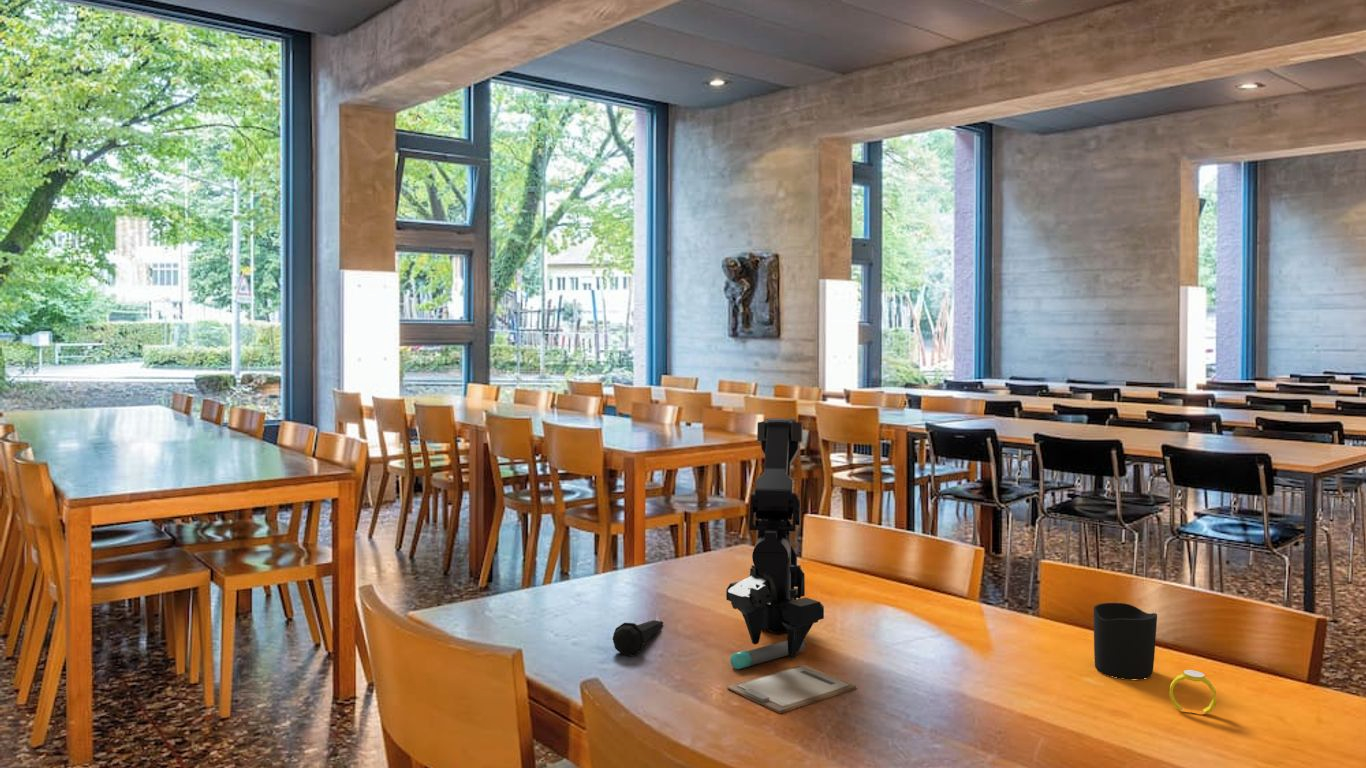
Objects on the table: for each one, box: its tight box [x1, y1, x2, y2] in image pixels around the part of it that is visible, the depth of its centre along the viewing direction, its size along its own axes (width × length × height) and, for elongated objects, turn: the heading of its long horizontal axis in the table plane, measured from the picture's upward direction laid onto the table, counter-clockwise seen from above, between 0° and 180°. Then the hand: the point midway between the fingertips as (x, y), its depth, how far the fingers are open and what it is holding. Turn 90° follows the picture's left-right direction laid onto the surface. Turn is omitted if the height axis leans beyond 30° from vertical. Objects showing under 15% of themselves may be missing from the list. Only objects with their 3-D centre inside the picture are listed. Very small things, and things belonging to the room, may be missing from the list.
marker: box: [729, 639, 808, 670], centre depth 168 cm, size 16×3×3 cm, turn 127°
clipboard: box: [726, 664, 857, 714], centre depth 155 cm, size 16×12×1 cm
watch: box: [1169, 669, 1217, 714], centre depth 145 cm, size 6×3×6 cm, turn 64°
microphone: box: [612, 619, 664, 657], centre depth 178 cm, size 6×6×20 cm
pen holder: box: [1093, 602, 1158, 680], centre depth 161 cm, size 9×9×10 cm
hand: (773, 651), depth 168 cm, fingers open, 9 cm apart
